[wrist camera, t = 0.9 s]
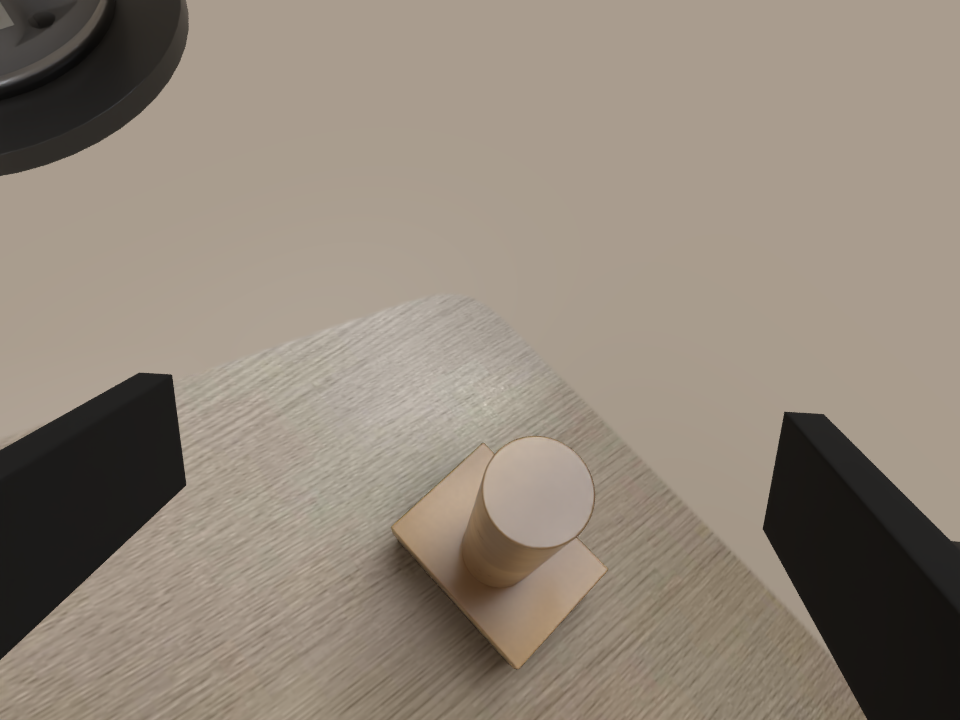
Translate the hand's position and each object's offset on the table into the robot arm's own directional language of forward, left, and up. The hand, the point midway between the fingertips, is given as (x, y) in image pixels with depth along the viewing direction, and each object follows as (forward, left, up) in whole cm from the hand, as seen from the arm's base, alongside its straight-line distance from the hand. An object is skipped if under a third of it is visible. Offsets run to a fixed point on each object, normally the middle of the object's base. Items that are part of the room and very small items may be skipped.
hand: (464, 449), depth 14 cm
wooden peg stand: (+1, +2, -16) cm, 16 cm away
